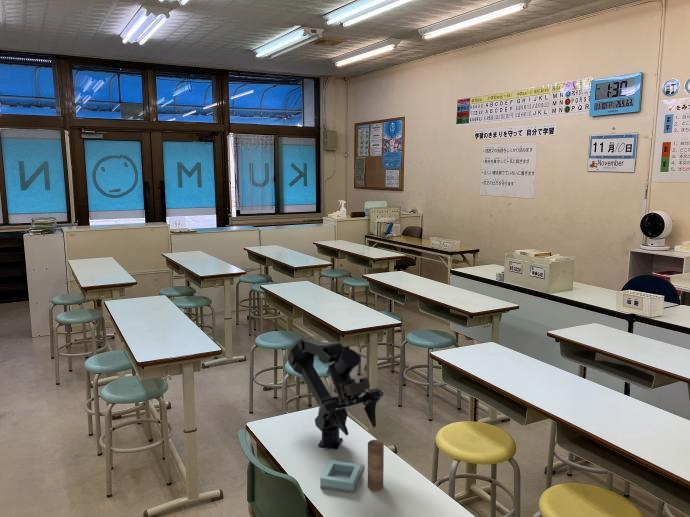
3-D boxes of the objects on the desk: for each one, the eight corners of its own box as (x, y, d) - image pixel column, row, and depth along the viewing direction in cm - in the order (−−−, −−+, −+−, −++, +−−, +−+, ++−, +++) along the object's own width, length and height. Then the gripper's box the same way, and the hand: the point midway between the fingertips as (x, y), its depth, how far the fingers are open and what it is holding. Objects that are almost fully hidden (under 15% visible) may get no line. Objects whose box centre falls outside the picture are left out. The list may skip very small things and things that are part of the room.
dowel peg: (369, 480, 154) (369, 438, 151) (384, 483, 152) (385, 440, 150) (366, 489, 149) (366, 446, 147) (381, 492, 148) (381, 449, 146)
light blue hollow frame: (333, 462, 163) (333, 453, 162) (364, 467, 160) (364, 458, 160) (320, 487, 150) (320, 478, 150) (353, 493, 148) (352, 483, 147)
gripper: (323, 376, 152) (342, 429, 145) (378, 363, 161) (399, 412, 154) (311, 392, 160) (329, 442, 153) (365, 379, 169) (384, 426, 162)
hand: (361, 430), depth 155 cm, fingers open, 9 cm apart
